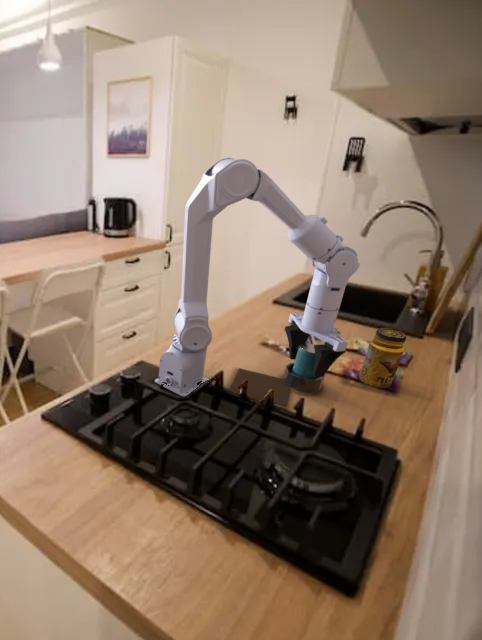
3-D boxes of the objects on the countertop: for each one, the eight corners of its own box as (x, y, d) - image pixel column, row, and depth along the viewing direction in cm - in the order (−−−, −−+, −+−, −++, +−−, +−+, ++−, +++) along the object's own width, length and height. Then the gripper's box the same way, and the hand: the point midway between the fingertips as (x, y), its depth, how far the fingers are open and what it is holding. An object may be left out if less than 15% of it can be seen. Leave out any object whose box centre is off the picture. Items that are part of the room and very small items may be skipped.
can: (308, 391, 83) (319, 356, 80) (285, 381, 87) (295, 347, 83) (317, 383, 86) (328, 349, 83) (295, 374, 89) (305, 341, 86)
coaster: (285, 409, 79) (286, 406, 78) (227, 393, 83) (228, 391, 83) (291, 383, 87) (291, 380, 87) (238, 370, 92) (239, 368, 92)
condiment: (393, 394, 84) (413, 342, 79) (346, 383, 87) (363, 333, 82) (390, 379, 89) (409, 329, 84) (346, 369, 93) (362, 321, 88)
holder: (311, 398, 82) (315, 383, 80) (276, 383, 87) (279, 369, 85) (326, 386, 86) (330, 371, 85) (291, 372, 91) (295, 359, 90)
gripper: (369, 318, 73) (348, 383, 79) (315, 293, 86) (300, 350, 92) (335, 321, 72) (316, 386, 78) (285, 294, 85) (272, 352, 91)
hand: (305, 366), depth 85 cm, fingers open, 7 cm apart
